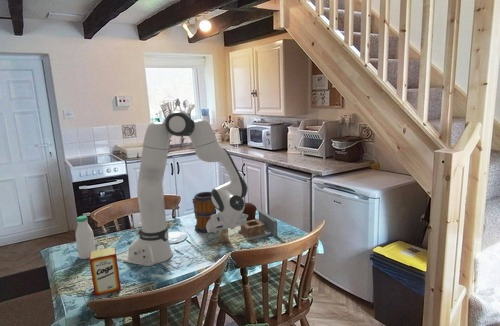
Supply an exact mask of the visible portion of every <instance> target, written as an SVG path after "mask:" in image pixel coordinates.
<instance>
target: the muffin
mask: <svg viewBox="0 0 500 326" xmlns="http://www.w3.org/2000/svg"><path fill="white" fill-rule="evenodd" d="M244 204H245V206H244V211H243V213H242V214H246V215H248V218H246V219H247V221H250V220H255V219H256V216H257V215H256V214H257V206H256V205H255V204H253V203H251V202H244Z"/></svg>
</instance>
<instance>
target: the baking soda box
mask: <svg viewBox="0 0 500 326" xmlns="http://www.w3.org/2000/svg"><path fill="white" fill-rule="evenodd" d="M88 260H89V261H88V262H89V266H90V272H91V278H92V279H91V280H92V286H93V293H94V297H98V296H103V295H107V294H110V293H115V292H118V290H119V291H121V290H122V288H121V287H122V286H121V281H120V280H121V279H120V273H119V266H118V265H119V264H118V259H117V250H116V246H114V247H109V248H105V249H102V248H101V249H97V250H96V251H93V252H90V254H89V258H88ZM114 291H115V292H114ZM106 293H107V294H106Z"/></svg>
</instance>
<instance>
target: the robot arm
mask: <svg viewBox="0 0 500 326" xmlns="http://www.w3.org/2000/svg"><path fill="white" fill-rule="evenodd" d="M173 136H174V137H189V139H190V141H191V143H192V147H193V150H194V152H195V155H196V156H197V158H198V159H199V160H201V161H203V162H204V163H205V162H206V163H220V164H221V165H222V166H223V167H224V168H225V171H226V172H227V175H228V176H229V181H226V182H225V183H223V184H221V185H219V186H216V187H214V188H212V189H211V191H210V192H211V202H212V204H213V205H214V207H215V208H216V211H219V212H216V214H214V215H211V219H210V220H209V221H208V222H207V224H206V229H207V232H209V234H211V233H210V232H212V233H214V234H217V233H218V231H219V232H220V230H224V229H228V230H229V229H231V230H235V228H237V227H241V226H242V225H245V224H246V221H247V219H246V218H248V215H246V214H242V213H243V211H244V206H245V204H244V203H245V200H244V198H245V197H246V195H247V194H248V193H247V192H248V185H247V183H246V182H245V180H244V178H243V177H242V175H241V174H240V172H239V169H238V168H237V166H236V164H235V161H234V159H233V158H232V156H231V155H230V153H229V151H228V150H227V149H226V148H223V147H222V146H221V145H220V144H219V142H218V140H217V137H216V135H215V131H214V130H213V128H212V126H211V124H210V121H208V120H207V119H204V118H201V119H196V120H195V119H194V120H193V119H191V117H190V115H189V113H187V112H186V111H184V110H181V109H176V110H172V111H171V112H169V113H168V114H167V116H166V117H165V120H164V121H162V122H161V121H154V122H150V123H149V124H148V126H147V128H146V130H145V133H144V138H143V143H142V149H141V160H140V165H139V172H138V180H137V191H136V193H137V202H138V209H139V214H140V223H141V228H140V229H138V232H137V233H136V235H137V236H138V235H139V236H138V237H137V238H135V240H134V241H133V242H131V243H130V245H129V246H128V251H127V252H126V254H125V255H124V257H123V262H124V263H128V264H129V263H130V264H134V265H135V264H136V265H139V266H145V267H150V266H154V265H156V264H159V263H164V262H165V261H167V260H170V259H171V258H172V256H173V255H174V254H173V250H172V247H171V245H170V240H169V230H168V228H169V227H168V225H167V218H166V207H165V197H164V196H165V195H164V187H163V186H164V185H163V183H164V182H163V181H164V175H165V171H166V168H167V167H166V166H167V161H168V160H167V159H168V155H169V147H170V141H171V138H172V137H173Z"/></svg>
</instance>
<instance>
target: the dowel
mask: <svg viewBox="0 0 500 326" xmlns="http://www.w3.org/2000/svg"><path fill="white" fill-rule="evenodd" d="M219 233H220V236H219V237H220V242H221V243H228V242H229V228H228V229H224V230H219Z"/></svg>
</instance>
